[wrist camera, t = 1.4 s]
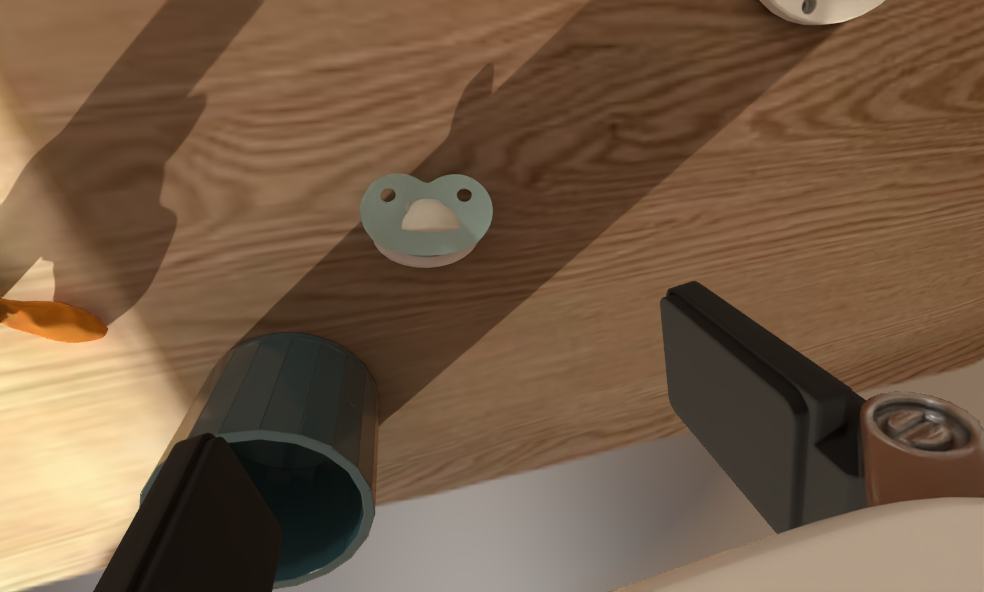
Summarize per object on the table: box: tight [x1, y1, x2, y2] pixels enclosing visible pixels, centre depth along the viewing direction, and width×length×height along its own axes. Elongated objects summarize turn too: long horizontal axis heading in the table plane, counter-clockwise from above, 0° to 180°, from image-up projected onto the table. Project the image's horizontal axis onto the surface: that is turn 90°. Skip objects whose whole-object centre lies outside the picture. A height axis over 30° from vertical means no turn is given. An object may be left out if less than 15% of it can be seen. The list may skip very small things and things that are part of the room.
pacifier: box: [360, 174, 493, 268], centre depth 28 cm, size 7×6×6 cm
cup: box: [139, 333, 379, 589], centre depth 30 cm, size 11×11×10 cm
